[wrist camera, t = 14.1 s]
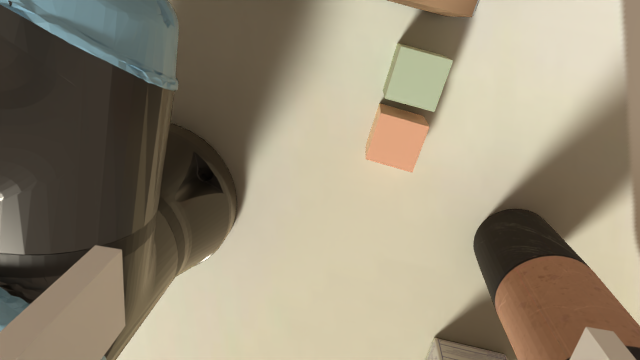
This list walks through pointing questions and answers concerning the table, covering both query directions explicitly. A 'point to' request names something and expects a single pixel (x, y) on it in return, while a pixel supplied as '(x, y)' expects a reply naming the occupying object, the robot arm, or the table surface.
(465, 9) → the tan rectangular box
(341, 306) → the table surface
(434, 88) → the sage green block
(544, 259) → the travel mug
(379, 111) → the terracotta block
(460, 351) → the medicine box
